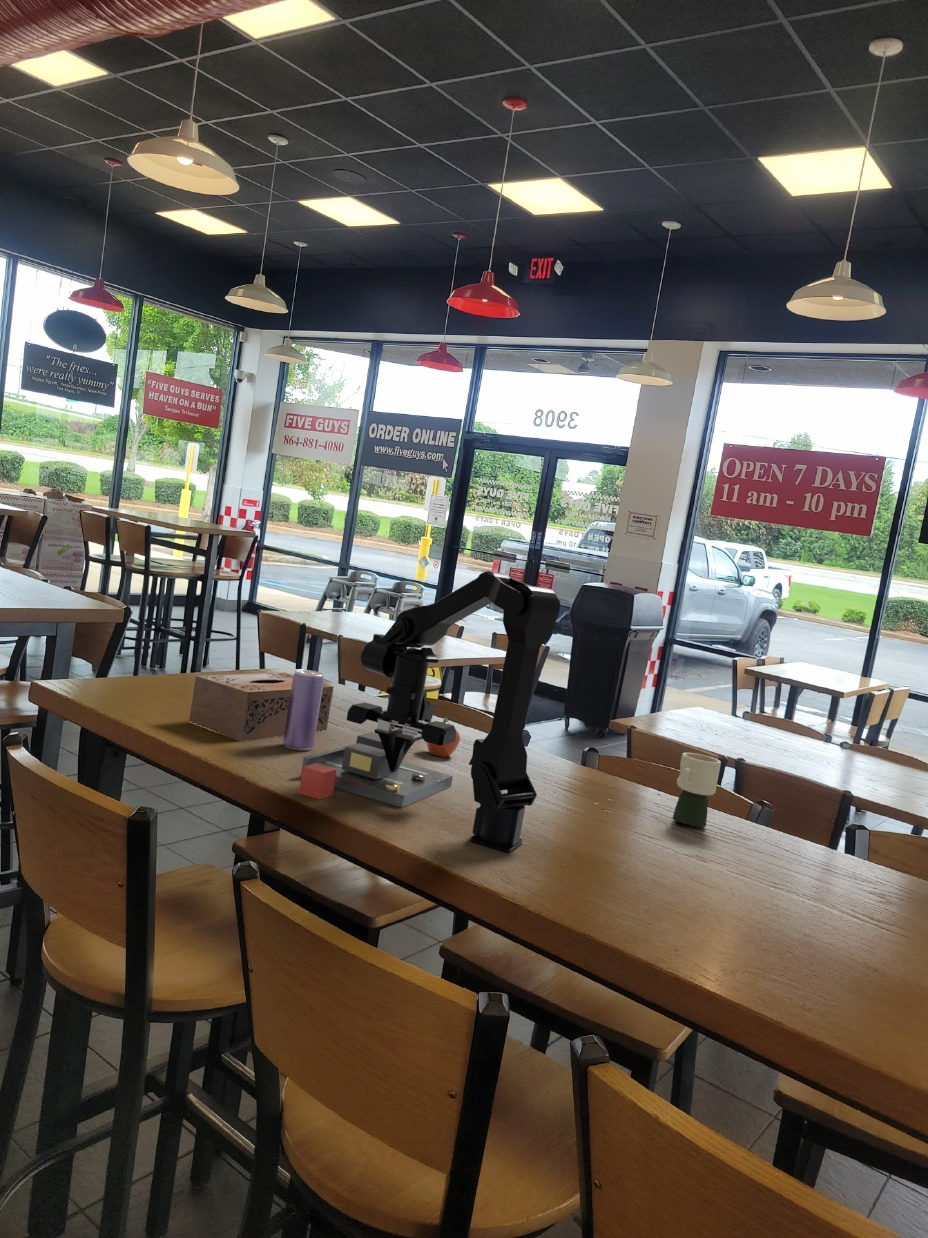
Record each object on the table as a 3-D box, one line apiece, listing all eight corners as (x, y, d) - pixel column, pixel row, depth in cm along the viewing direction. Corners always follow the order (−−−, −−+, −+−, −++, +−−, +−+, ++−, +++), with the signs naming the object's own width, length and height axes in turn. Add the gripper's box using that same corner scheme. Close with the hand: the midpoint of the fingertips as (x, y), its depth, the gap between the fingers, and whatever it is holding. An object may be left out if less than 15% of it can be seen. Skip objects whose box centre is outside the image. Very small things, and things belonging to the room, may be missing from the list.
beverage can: (306, 753, 171) (318, 677, 170) (277, 747, 172) (289, 671, 171) (317, 747, 177) (329, 673, 176) (289, 741, 178) (300, 668, 177)
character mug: (685, 815, 174) (697, 750, 173) (719, 827, 169) (732, 761, 168) (657, 822, 165) (670, 753, 164) (692, 834, 161) (705, 764, 160)
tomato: (450, 751, 194) (457, 715, 193) (461, 761, 187) (468, 724, 186) (418, 748, 191) (424, 712, 191) (427, 758, 184) (434, 720, 184)
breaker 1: (399, 761, 168) (402, 741, 167) (387, 765, 163) (390, 744, 163) (367, 752, 170) (370, 732, 170) (354, 756, 166) (357, 735, 165)
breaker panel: (450, 786, 165) (454, 768, 165) (402, 807, 147) (405, 787, 147) (357, 760, 173) (360, 742, 173) (300, 777, 154) (303, 757, 154)
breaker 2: (390, 774, 157) (393, 752, 157) (375, 779, 152) (379, 757, 152) (355, 765, 160) (359, 743, 160) (340, 769, 155) (344, 747, 155)
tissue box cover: (277, 715, 201) (284, 672, 200) (326, 731, 194) (333, 686, 193) (188, 724, 179) (195, 675, 178) (239, 742, 172) (247, 692, 171)
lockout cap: (332, 795, 147) (336, 769, 147) (319, 800, 144) (323, 772, 143) (312, 789, 149) (316, 763, 148) (298, 793, 145) (303, 766, 145)
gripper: (475, 691, 157) (460, 777, 158) (383, 669, 164) (369, 752, 165) (449, 697, 147) (433, 789, 148) (352, 673, 154) (338, 761, 155)
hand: (393, 771), depth 154 cm, fingers closed
